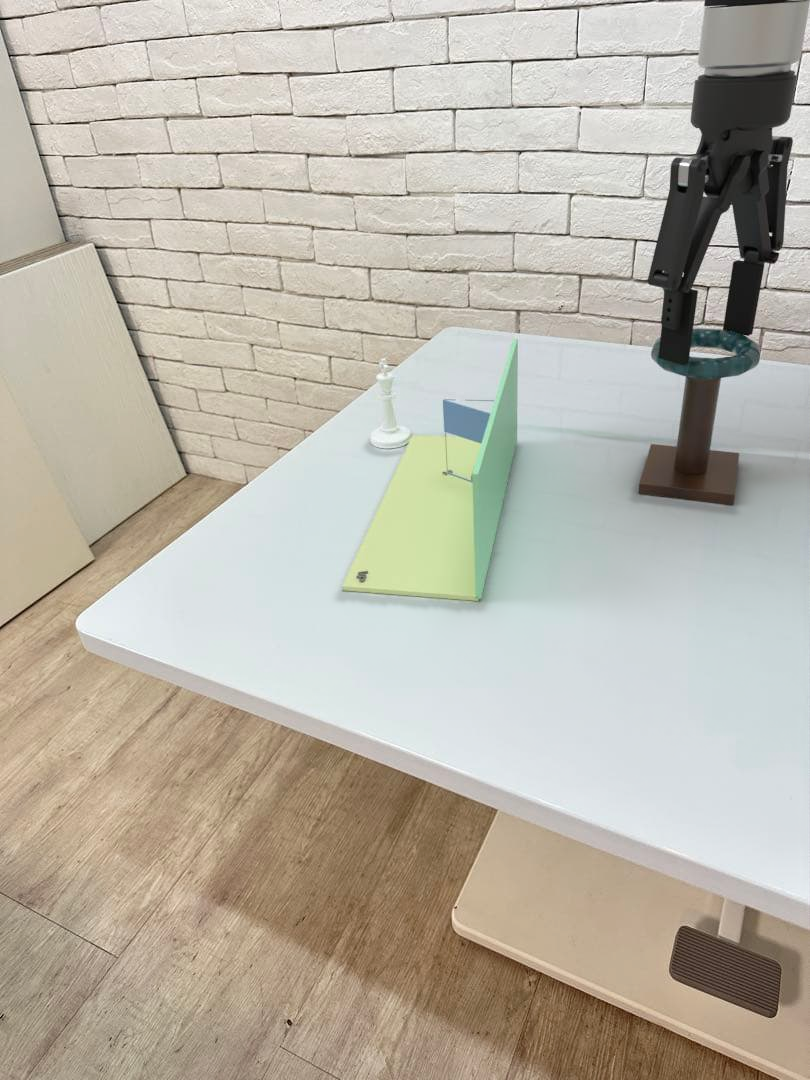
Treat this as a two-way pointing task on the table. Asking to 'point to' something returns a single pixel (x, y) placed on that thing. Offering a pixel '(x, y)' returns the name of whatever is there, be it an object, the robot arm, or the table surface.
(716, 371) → the ring
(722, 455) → the stand
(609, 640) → the table surface
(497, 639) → the table surface
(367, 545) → the display stand
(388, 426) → the chess piece
